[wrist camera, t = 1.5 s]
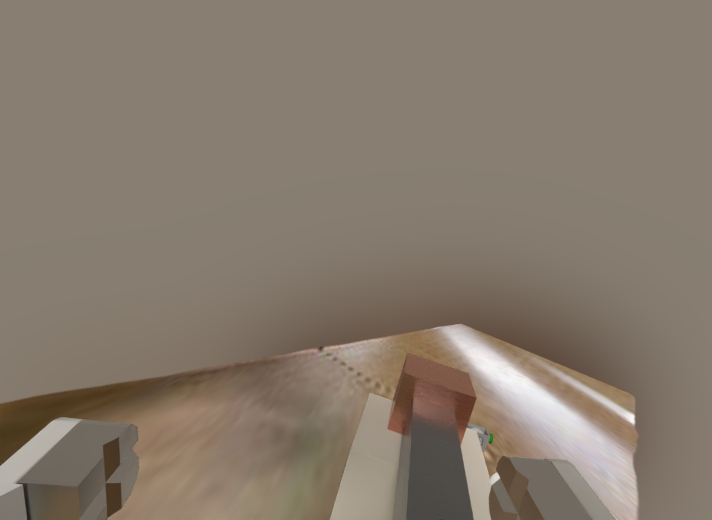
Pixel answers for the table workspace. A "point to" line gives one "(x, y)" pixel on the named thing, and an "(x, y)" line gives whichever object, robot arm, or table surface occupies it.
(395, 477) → the cream block
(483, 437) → the mechanical component
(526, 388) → the table surface
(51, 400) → the table surface
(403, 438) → the grey long block
